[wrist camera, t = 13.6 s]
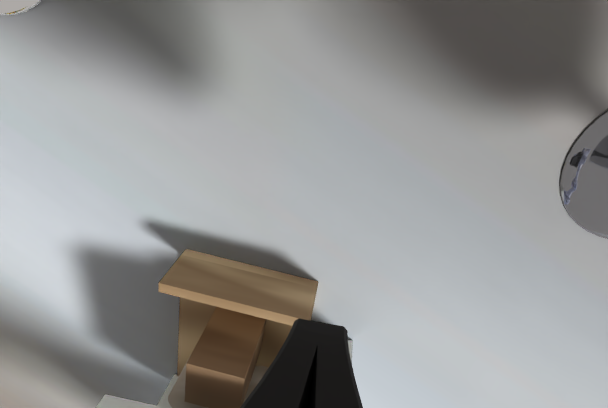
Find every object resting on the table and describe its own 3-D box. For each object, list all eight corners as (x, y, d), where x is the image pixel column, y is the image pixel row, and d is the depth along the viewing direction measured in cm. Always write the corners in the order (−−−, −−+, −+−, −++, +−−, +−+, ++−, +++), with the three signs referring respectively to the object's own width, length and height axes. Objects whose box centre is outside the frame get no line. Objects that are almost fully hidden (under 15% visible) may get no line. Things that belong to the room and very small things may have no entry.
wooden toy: (290, 392, 27) (272, 477, 22) (183, 364, 27) (141, 441, 22) (319, 277, 22) (304, 352, 17) (188, 245, 22) (137, 309, 18)
